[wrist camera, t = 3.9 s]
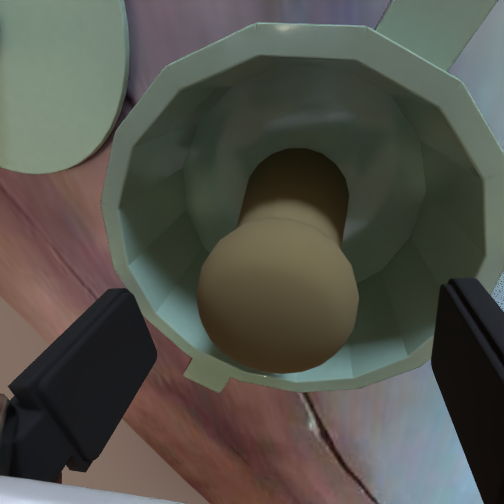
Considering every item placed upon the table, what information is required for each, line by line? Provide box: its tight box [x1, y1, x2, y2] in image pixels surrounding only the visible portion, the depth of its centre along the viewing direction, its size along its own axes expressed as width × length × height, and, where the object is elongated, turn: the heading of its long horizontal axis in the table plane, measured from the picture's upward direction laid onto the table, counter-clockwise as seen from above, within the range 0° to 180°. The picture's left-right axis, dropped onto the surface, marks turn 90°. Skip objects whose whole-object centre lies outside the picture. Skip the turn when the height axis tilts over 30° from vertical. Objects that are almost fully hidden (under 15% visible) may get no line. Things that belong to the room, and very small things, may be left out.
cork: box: [196, 148, 359, 374], centre depth 14 cm, size 6×6×11 cm
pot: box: [101, 0, 504, 393], centre depth 15 cm, size 15×21×7 cm
